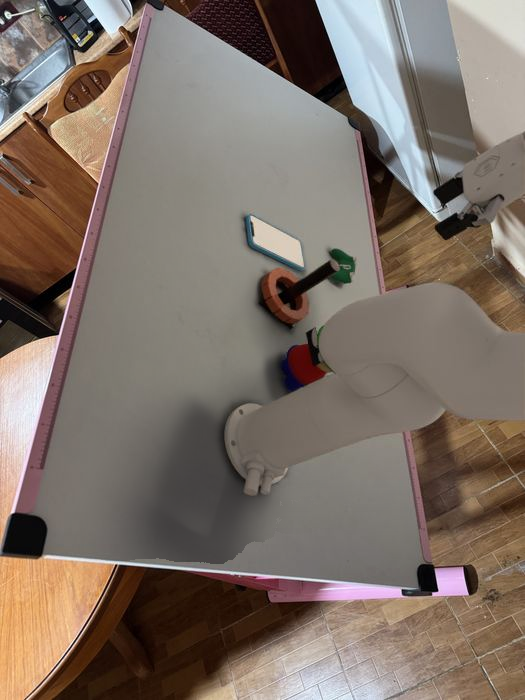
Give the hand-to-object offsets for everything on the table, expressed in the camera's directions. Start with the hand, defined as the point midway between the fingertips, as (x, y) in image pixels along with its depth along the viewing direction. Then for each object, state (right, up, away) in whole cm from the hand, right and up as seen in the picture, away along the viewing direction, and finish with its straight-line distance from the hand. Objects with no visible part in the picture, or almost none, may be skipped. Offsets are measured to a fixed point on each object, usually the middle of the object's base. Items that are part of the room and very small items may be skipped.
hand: (438, 215), depth 91 cm
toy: (-25, -26, +6) cm, 36 cm away
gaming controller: (-13, -5, +32) cm, 35 cm away
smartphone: (-26, -1, +20) cm, 33 cm away
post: (-26, -13, +13) cm, 31 cm away
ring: (-25, -12, +12) cm, 30 cm away
